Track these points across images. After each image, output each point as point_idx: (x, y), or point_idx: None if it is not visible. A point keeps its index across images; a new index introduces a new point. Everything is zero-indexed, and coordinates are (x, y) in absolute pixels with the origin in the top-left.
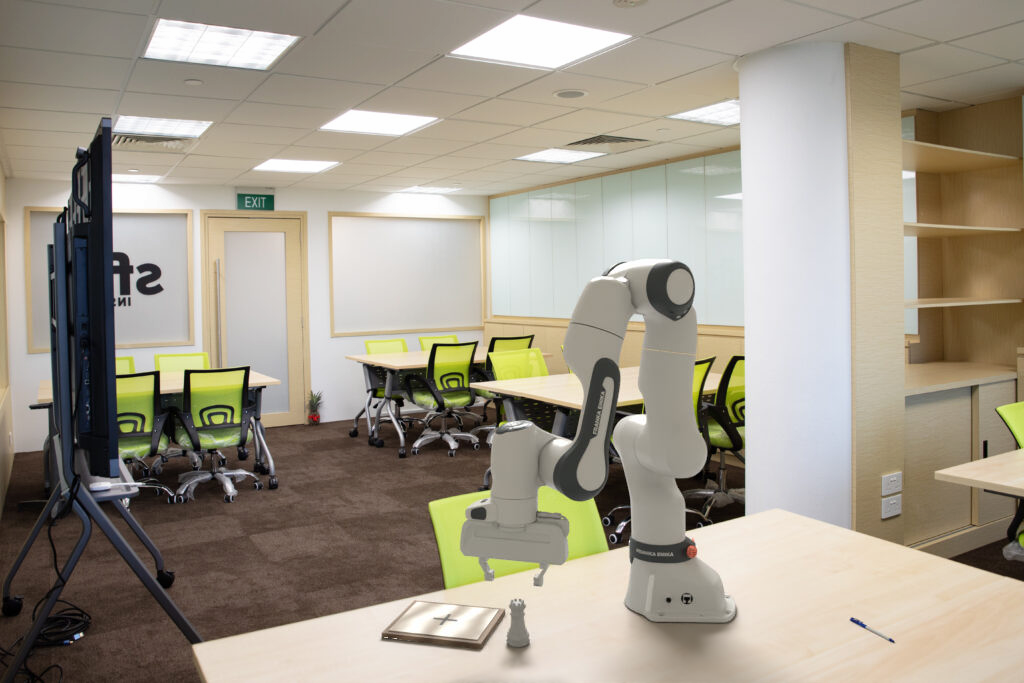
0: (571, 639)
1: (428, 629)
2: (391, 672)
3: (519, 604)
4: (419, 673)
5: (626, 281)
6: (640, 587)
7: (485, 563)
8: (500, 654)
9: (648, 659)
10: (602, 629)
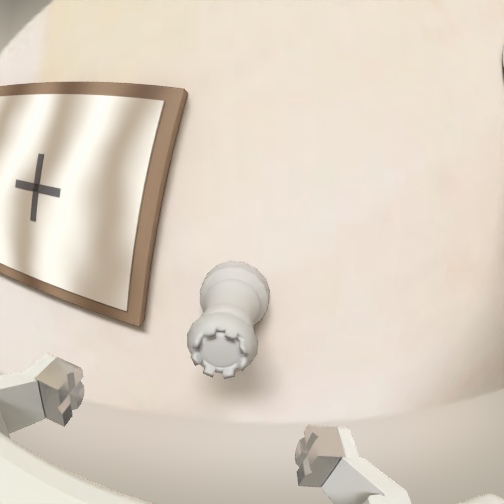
0: (383, 272)
1: (18, 247)
2: None
3: (230, 375)
4: None
5: None
6: None
7: (5, 412)
8: None
9: (491, 352)
10: (460, 215)
